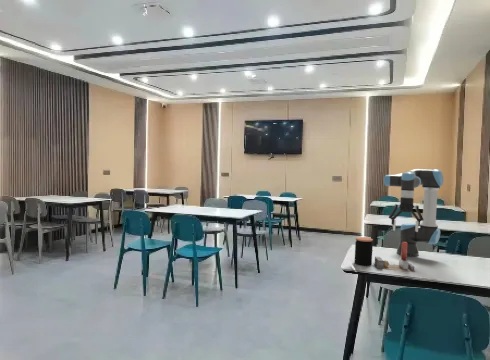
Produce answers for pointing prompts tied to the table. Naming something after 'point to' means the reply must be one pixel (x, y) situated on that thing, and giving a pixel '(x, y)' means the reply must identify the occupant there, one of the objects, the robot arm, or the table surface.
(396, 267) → the board
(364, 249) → the coffee jar
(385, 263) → the nut
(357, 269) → the table surface
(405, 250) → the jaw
